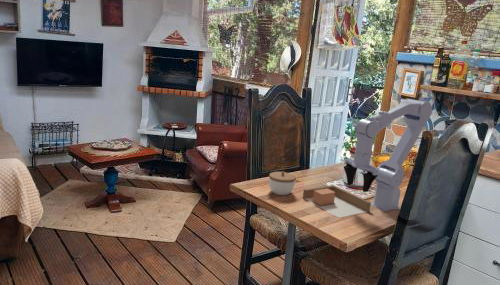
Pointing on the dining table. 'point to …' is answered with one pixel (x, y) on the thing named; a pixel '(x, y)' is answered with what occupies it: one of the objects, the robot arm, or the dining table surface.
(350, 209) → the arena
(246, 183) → the dining table surface
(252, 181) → the dining table surface
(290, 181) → the lidded jar
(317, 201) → the bar
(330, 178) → the dining table surface
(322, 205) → the pad
